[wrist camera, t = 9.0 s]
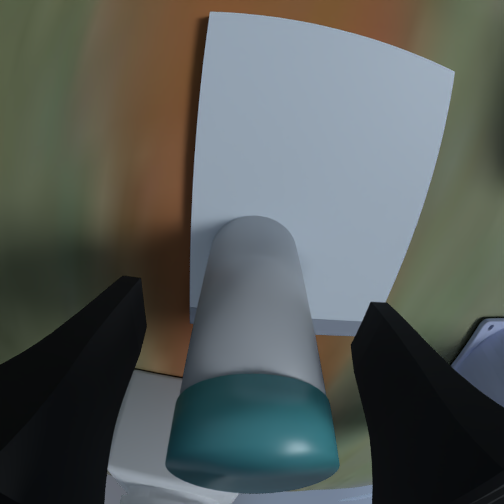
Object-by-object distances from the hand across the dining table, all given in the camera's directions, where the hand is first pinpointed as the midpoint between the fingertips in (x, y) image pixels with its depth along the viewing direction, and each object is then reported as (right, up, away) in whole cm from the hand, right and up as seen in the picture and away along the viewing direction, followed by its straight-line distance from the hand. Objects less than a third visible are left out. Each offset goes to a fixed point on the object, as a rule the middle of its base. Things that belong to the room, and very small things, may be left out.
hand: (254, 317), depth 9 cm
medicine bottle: (-5, -9, +10) cm, 14 cm away
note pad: (+2, +4, +2) cm, 5 cm away
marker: (0, +2, +3) cm, 3 cm away
